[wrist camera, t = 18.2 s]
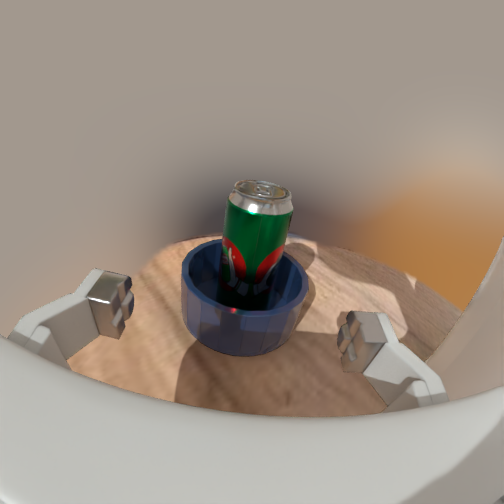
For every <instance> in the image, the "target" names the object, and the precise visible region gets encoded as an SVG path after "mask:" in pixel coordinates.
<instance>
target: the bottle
mask: <svg viewBox="0 0 504 504" xmlns="http://www.w3.org/2000/svg"><path fill="white" fill-rule="evenodd" d="M424 363H425V364H427V365H428V366H429V367H430V368H431V369H432V370H433V371H434V372H435V373H437V374H438V375H439V376H440V377H441V380H442V382H443V385H444V387H445V390H446V392H447V395H448V398H449V400H450V401H452V400H456V399H460V398H463V397H467V396H470V395H474V394H477V393H480V392H483V391H486V390H489V389H492V388H495V387H498V386H504V237H503V238H502V241H501V244H500V247H499V249H498V251H497V254H496V256H495V258H494V260H493V262H492V264H491V266H490V268H489V270H488V272H487V274H486V276H485V277H484V279H483V281H482V283H481V285H480V286H479V288H478V290H477V291H476V293H475V295H474V296H473V298H472V300H471V301H470V303H469V304H468V306H467V307H466V309H465V310H464V312H463V313H462V315H461V316H460V318H459V319H458V321H457V322H456V324H455V325H454V327H453V328H452V329H451V331H450V332H449V333H448V335H447V336H446V338H445V339H444V340H443V342H442V343H441V344H440V345H439V347H438V348H437V349H436V351H435V352H434V353H433V354H432V355H431V356H430V357H429V358H428V359H427V360H425V362H424Z"/></svg>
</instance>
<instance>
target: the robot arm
mask: <svg viewBox="0 0 504 504" xmlns="http://www.w3.org/2000/svg"><path fill="white" fill-rule="evenodd" d="M131 286H132V281H131V278H130V277H129V276H126V275H122V274H118V273H114V272H110V271H104V270H101V269H97V268H95V269H93V270H92V271H91V272H90V273H89V275H88V276H87V277H86V278H85V280H84V281H83V282H82V283H81V285H80V286H79V287H78V289H77V290H76V291H75V292H74V294H71V293H70V294H67V295H66V296H63V297H61V298H59V299H57V300H55V301H53V302H51V303H49V304H46V305H45V306H42V307H40V308H38V309H36V310H34V311H32V312H30V313H28V314H26V315H24V316H23V317H22V318H21V320H20V321H19V322H18V324H17V325H16V326H15V328H14V329H13V331H12V332H11V333H10V335H9V336H8V338H6V337H4V336H2V335H1V334H0V504H504V386H498V387H495V388H492V389H489V390H486V391H483V392H480V393H477V394H474V395H470V396H467V397H463V398H460V399H456V400H452V401H450V400H449V398H448V395H447V392H446V390H445V387H444V385H443V382H442V380H441V377H440V376H439V375H438V374H437V373H435V372H434V371H433V370H432V369H431V368H430V367H429V366H428V365H427V364H425V363H424V362H423V361H422V360H421V359H420V358H419V357H418V356H416V355H415V354H414V353H413V352H412V351H411V350H410V349H409V348H407V347H406V346H405V345H404V344H403V343H399V341H398V338H397V336H396V334H395V331H394V329H393V327H392V324H391V322H390V320H389V318H388V315H387V314H385V313H378V312H374V313H373V312H362V311H350V312H349V313H348V315H347V317H346V320H347V323H346V324H344V325H343V326H341V328H340V330H339V333H338V338H337V345H338V349H339V350H340V351H341V352H342V353H343V355H342V357H341V363H342V367H343V372H352V373H363V375H364V376H365V378H366V379H367V380H368V381H369V383H370V384H371V385H372V387H373V388H374V389H375V390H376V392H377V393H378V394H379V395H380V397H381V398H382V399H383V401H384V402H385V403H386V404H387V406H388V407H387V408H385V409H384V410H383V411H382V412H381V413H379V414H369V415H357V416H340V417H284V416H267V415H255V414H244V413H235V412H227V411H220V410H213V409H207V408H201V407H196V406H190V405H185V404H180V403H175V402H171V401H166V400H162V399H158V398H154V397H150V396H146V395H143V394H139V393H135V392H132V391H129V390H125V389H122V388H119V387H116V386H113V385H110V384H107V383H104V382H101V381H98V380H95V379H93V378H90V377H87V376H85V375H82V374H79V373H77V372H74V371H72V370H71V368H70V366H69V364H68V363H67V361H66V360H67V359H69V358H70V357H71V356H73V355H74V354H75V353H77V352H78V351H79V350H81V349H82V348H83V347H85V346H86V345H87V344H89V343H90V342H91V341H93V340H94V339H96V338H97V337H98V336H99V334H100V335H103V336H107V337H111V338H115V339H120V337H121V335H122V333H123V331H124V329H125V323H124V321H126V320H127V319H129V318H130V316H131V314H132V312H133V307H134V294H133V293H132V292H131V291H130V288H131Z"/></svg>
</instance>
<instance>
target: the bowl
mask: <svg viewBox="0 0 504 504" xmlns="http://www.w3.org/2000/svg"><path fill="white" fill-rule="evenodd" d="M221 246H222V239H217V240H212V241H209V242H206V243H203V244H200V245H199V246H197V247H196V248H194V249H193V250H191V251H190V252H189V253H188V254H187V256H186V257H185V259H184V261H183V262H182V274H181V304H182V316H183V320H184V323H185V325H186V327H187V328H188V330H189V331H190V333H191V334H192V335H193V336H194V337H195V338H196V339H197V340H199V341H200V342H201V343H203V344H204V345H206V346H207V347H209V348H211V349H213V350H216V351H218V352H221V353H225V354H229V355H235V356H256V355H261V354H265V353H268V352H270V351H273V350H275V349H276V348H278V347H280V346H281V345H282V344H284V343H285V342H286V341H287V340H288V338H289V337H290V335H291V333H292V331H293V329H294V327H295V325H296V322H297V320H298V317H299V315H300V312H301V309H302V307H303V304H304V301H305V298H306V296H307V293H308V290H309V284H308V276H307V275H306V273H305V271H304V269H303V267H302V266H301V265H300V264H299V263H298V262H297V261H296V260H295V259H294V258H293V257H292V256H290V255H289V254H287V253H285V252H284V251H283V254H282V258H281V262H280V265H279V269H278V273H277V277H276V281H275V285H274V288H273V292H272V296H271V299H270V303H269V307H268V310H267V311H245V310H241V309H236V308H231V307H227V306H224V305H222V304H220V303H218V302H216V291H217V282H218V273H219V264H220V255H221Z"/></svg>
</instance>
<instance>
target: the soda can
mask: <svg viewBox="0 0 504 504" xmlns="http://www.w3.org/2000/svg"><path fill="white" fill-rule="evenodd" d="M290 199H291V193H290V192H289V191H288V190H286V189H285V188H283V187H281V186H278V185H275V184H272V183H268V182H264V181H256V180H245V181H240V182H237V183H236V184H235V186H234V190H233V192H232V193H231V194H230V195H229V196H228V199H227V207H226V213H225V221H224V230H223V238H222V246H221V255H220V264H219V273H218V282H217V291H216V302H218V303H220V304H222V305H224V306H227V307H231V308H236V309H241V310H245V311H267V310H268V307H269V303H270V299H271V296H272V292H273V288H274V285H275V281H276V277H277V273H278V269H279V265H280V262H281V258H282V254H283V250H284V246H285V242H286V238H287V234H288V230H289V226H290V221H291V217H292V213H293V206H292V204H291V201H290Z"/></svg>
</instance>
